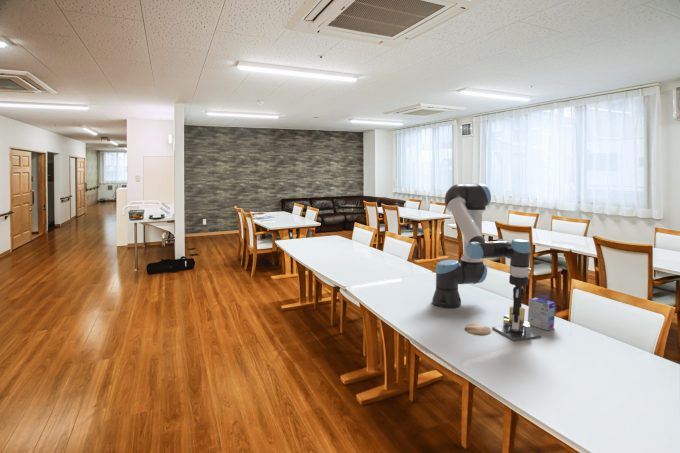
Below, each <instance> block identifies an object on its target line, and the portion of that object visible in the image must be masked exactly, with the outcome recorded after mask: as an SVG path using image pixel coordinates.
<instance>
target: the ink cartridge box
mask: <svg viewBox="0 0 680 453" xmlns="http://www.w3.org/2000/svg"><path fill="white" fill-rule="evenodd" d="M548 298H549V296H548V295H545V294H542V293H541V294H540V295H539V296H538V297H532V298H529V299H528V300H529V301H528V312H527V313H528V314H527V322H529V325H530V326H534V327H536V328H539V329H543V330H545V331H549V330H553V329H555V316H556V302H554V301H550V300H548Z"/></svg>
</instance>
